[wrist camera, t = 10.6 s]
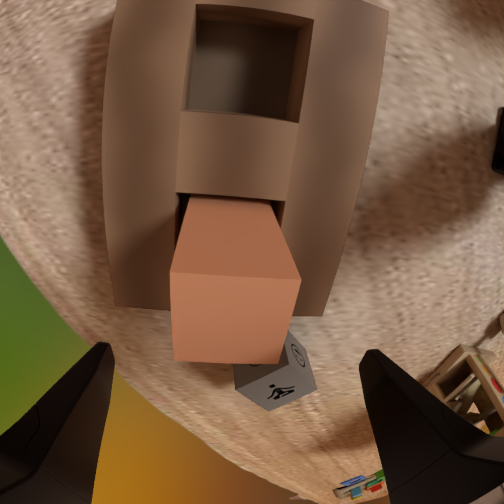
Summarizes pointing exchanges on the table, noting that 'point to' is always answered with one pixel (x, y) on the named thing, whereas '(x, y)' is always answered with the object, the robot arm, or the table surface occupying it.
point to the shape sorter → (361, 486)
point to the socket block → (236, 128)
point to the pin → (231, 282)
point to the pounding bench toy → (471, 386)
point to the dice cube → (277, 377)
